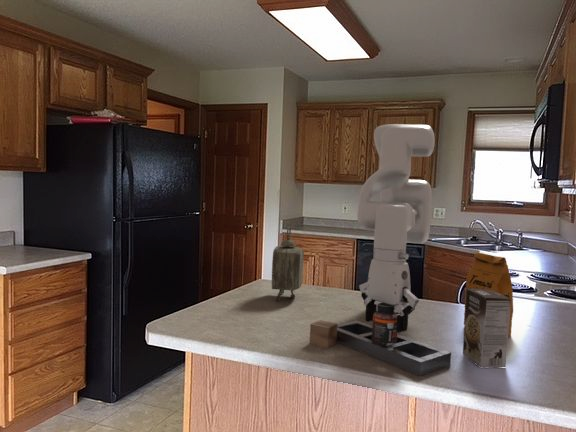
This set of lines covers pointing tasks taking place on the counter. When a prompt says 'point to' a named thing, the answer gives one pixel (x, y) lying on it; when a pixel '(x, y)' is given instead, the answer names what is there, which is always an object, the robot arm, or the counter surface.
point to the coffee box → (486, 327)
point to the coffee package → (491, 278)
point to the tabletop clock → (287, 266)
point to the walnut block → (323, 333)
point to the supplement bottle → (384, 325)
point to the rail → (394, 349)
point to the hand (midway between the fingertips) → (385, 325)
